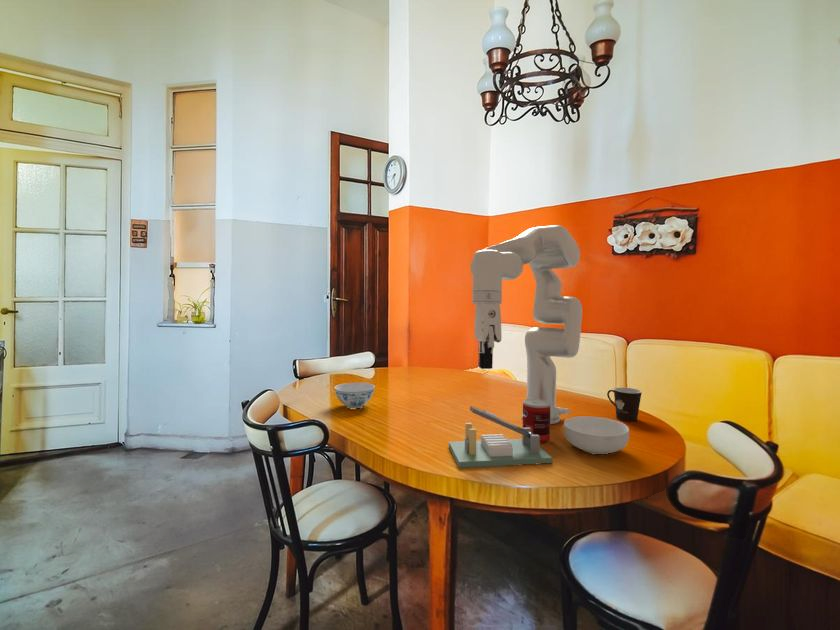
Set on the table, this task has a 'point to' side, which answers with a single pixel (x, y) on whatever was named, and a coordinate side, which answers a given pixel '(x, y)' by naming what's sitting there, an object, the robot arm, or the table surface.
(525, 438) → the clamp board
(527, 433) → the grey hinged clamp lever
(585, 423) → the cereal bowl
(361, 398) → the chinaware
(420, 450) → the table surface
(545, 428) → the canned food
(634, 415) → the coffee mug
